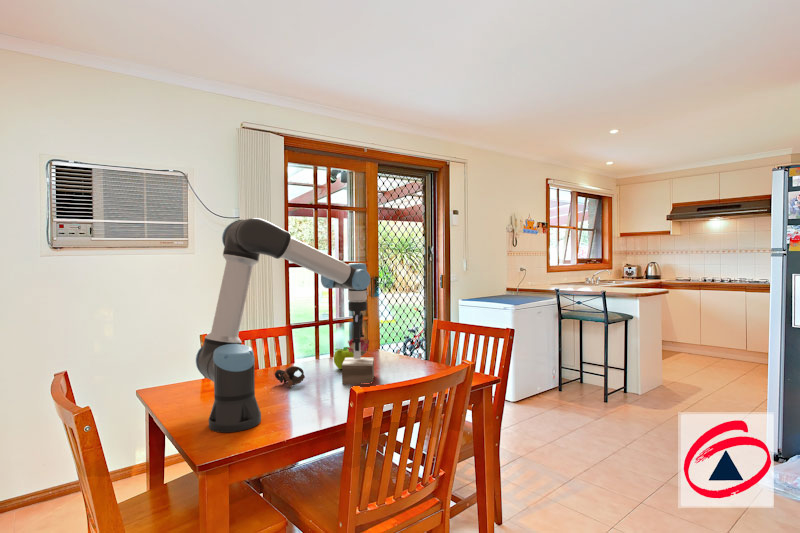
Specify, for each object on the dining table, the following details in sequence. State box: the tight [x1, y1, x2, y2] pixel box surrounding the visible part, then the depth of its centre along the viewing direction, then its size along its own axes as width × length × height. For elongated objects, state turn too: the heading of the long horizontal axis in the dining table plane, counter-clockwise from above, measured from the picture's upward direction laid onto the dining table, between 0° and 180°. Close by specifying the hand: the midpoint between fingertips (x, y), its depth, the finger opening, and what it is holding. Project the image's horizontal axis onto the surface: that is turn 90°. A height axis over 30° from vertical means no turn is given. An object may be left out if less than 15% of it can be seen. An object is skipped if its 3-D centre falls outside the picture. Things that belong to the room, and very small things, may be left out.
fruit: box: [333, 346, 354, 370], centre depth 203 cm, size 9×9×10 cm
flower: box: [346, 337, 371, 357], centre depth 185 cm, size 10×9×8 cm
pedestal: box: [341, 356, 375, 386], centre depth 185 cm, size 12×12×8 cm
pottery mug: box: [274, 365, 306, 389], centre depth 180 cm, size 12×10×8 cm
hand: (358, 355), depth 185 cm, fingers closed on flower, 9 cm apart
